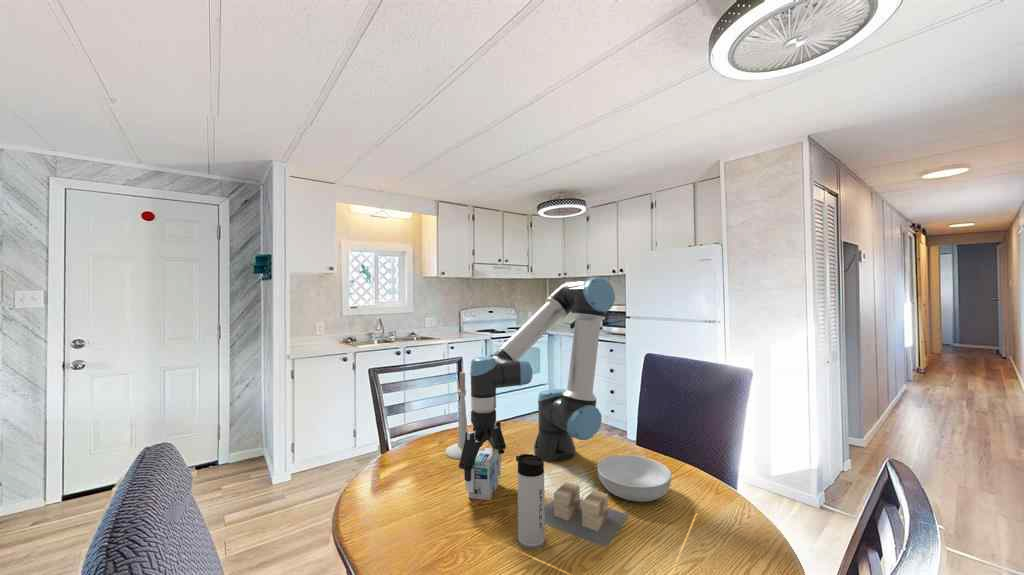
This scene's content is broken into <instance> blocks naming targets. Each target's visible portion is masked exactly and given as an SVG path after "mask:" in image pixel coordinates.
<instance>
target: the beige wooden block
mask: <svg viewBox="0 0 1024 575" xmlns="http://www.w3.org/2000/svg"><path fill="white" fill-rule="evenodd" d="M580 493H581V492H580V485H578V484H574V483H571V482H568V481H566V482H564V483H563V484H562V485H561V486H559V487H558V489H556V490H555V491H554V492H553V500H554V516H556V517H559V518H562V519H565V520H567V521H568V520H569V519H570V518H571V517H572V516H573V515H574V514H575V513H576V512H577V511H578V510H579V509H580V499H581V498H580Z"/></svg>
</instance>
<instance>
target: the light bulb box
mask: <svg viewBox="0 0 1024 575" xmlns="http://www.w3.org/2000/svg"><path fill="white" fill-rule="evenodd" d="M472 468H473V469H474V493H471V492H468V499H475V500H484V501H485V500H486V501H490V500H491V499H492V498H493V495H494V493H495V492H496V490H497V488H498V486H499V484H500V483H499V482H500V481H499V478H500V476H499V472H498V449H493V448H491V447H490V448H488V447H480V449H479V451H478V454H477V457H476V459H475V462H474V465H473V467H472Z"/></svg>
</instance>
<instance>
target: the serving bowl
mask: <svg viewBox="0 0 1024 575" xmlns="http://www.w3.org/2000/svg"><path fill="white" fill-rule="evenodd" d="M596 466H597V467H596V469H597V470H596V471H597V474H598V475H597V476H598V478H599V480H600V482H601V484H602V486H604V488H605V489H606V490H607V491H608V492H610V493H611V494H612V495H613V496H616V497H618V498H620V499H623V500H626V501H630V502H631V501H632V502H636V503H637V502H640V503H645V502H651V501H655V500H658V499H660V498H662V497H663V496H664V495H666V493H667V492H668V491H669V489H670V487H671V482H672V472H671V471H670V469H669V468H668V467H667V466H666V465H664V464H663V463H661V462H659V461H658V460H657V461H656V460H655V459H652V458H648V457H646V456H645V457H644V456H639V455H633V454H616V455H614V454H613V455H609V456H607V457H604V458H603V459H600V460H599V462H598V463H597V464H596Z"/></svg>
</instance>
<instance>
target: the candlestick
mask: <svg viewBox="0 0 1024 575" xmlns="http://www.w3.org/2000/svg"><path fill="white" fill-rule="evenodd" d="M457 392H458V396H459V414H458V415H459V416H458V433H457V434H458V436H457V443H454V444H452V445H450V446H447V448H446V449H445V456H446V457H447V458H450V459H452V460H460V459H461V455H462V451H463V447H464V443H465V433H466V432H468V426H467V412H466V411H467V409H466V398H465V397H466V395H467V392H468V389H466V372H463V371H460V372H459V389H457Z"/></svg>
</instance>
